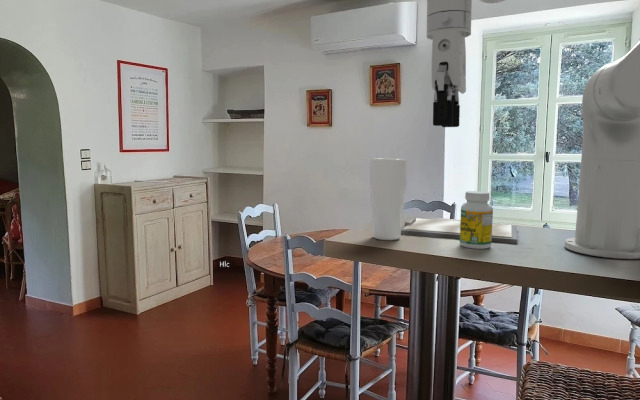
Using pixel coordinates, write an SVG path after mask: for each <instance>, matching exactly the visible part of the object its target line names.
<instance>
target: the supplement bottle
mask: <svg viewBox="0 0 640 400" xmlns="http://www.w3.org/2000/svg"><path fill="white" fill-rule="evenodd" d="M464 198H465V200H466V202H464V203H463V204H462V205H461V207H460V220H459V221H460V239H459V245H460V246H462V247H464V248H466V249H467V248H468V249H473V250H475V249H476V250H484V249H489V248H491V246H492V242H491V240H492V224H493V217H494V207H493V205H491V204H490V203H489V201H490V192H487V191H480V190H479V191H478V190H475V191H474V190H471V191H470V190H469V191H465V195H464Z"/></svg>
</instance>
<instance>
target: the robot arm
mask: <svg viewBox="0 0 640 400" xmlns="http://www.w3.org/2000/svg"><path fill="white" fill-rule="evenodd" d="M472 1H473V0H426V38H427V39H428V40H432V41H431V42H432V44H431V88H432V90H433V91H434V92H433V93H434V94H433V102H432V105H433V106H432V125H433V126H434V127H435V126H436V127H437V126H438V127H440V126H441V127H442V128H458V127H459V126H460V117H461V116H460V113H461V112H460V109H461V105H460V97H459V95H460V94H462V95H463V94H464V93H466V91H467V82H466V81H467V79H466V77H467V76H466V75H467V70H466V69H467V67H466V65H467V64H466V63H467V61H466V60H467V54H466V53H467V51H466V38H467V37H470V36H471V35H472ZM479 1H480V2H482V3H484V4H498V3H501V2H504V1H505V0H479ZM584 86H585V87H584V89H583V93H582V98H581V99H582V100H581V109H582V111H581V112H582V144H581V145H582V146H581V147H582V148H581V158H580V172H579V173H580V174H579V183H578V195H577V209H576V219H575V220H576V221H575V222H576V223H575V233H574V234H575V235H574V237H569V238H566V239H565V240H564V245H563V246H564V248H566V249H567V250H570V251H572V252H575V253H577V254H583V255H588V256H593V257H601V258H608V259H616V260H617V259H621V260H639V259H640V39H639V41H638V43H636V45H635V46H634V47H632V49H631V50H629V51H628V52H627V53H626V54H625V55H624V56H623V57H620V58H618V59H616V60H613V61H612V62H609V63H607V64H605V65H603V66H602V67H600V68H598V69H597V70H596V71H595V72H594V73H593V74H592V75H591V76H590V77H589V79H588V81H587V82H586V84H585V85H584ZM459 93H460V94H459Z"/></svg>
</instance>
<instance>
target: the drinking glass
mask: <svg viewBox="0 0 640 400" xmlns="http://www.w3.org/2000/svg"><path fill="white" fill-rule="evenodd" d="M369 171H370V172H369V176H370V177H369V182H370V183H369V185H370V198H371V199H370V200H371V216H372V217H371V218H372V220H371V221H372V236H373V238H374V239H376V240H380V241H396V240H399V239H400V238H401V236H402V234H401V227H402V226H403V225H402V223H403V214H404V206H405V198H406V189H407V180H408V160H407V158H398V157H397V158H394V157H393V158H392V157H390V158H389V157H378V158H377V157H375V158H374V157H373V158H371V159H370V167H369Z"/></svg>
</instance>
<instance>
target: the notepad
mask: <svg viewBox="0 0 640 400" xmlns="http://www.w3.org/2000/svg"><path fill="white" fill-rule="evenodd" d="M401 235H406V236H407V235H408V236H416V237H417V236H418V237H419V236H420V237H429V238H431V237H432V238H443V239H444V238H445V239H452V240H453V239H454V240H456V239H457V240H460V220H448V219H447V220H446V219H433V218H419V217H410V218H409V219H407V220H406V221H405V222H404V224H403V225H401ZM491 243H501V244H515V245H517V244H518V230H517V225H516V224H504V223H492V240H491Z"/></svg>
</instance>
